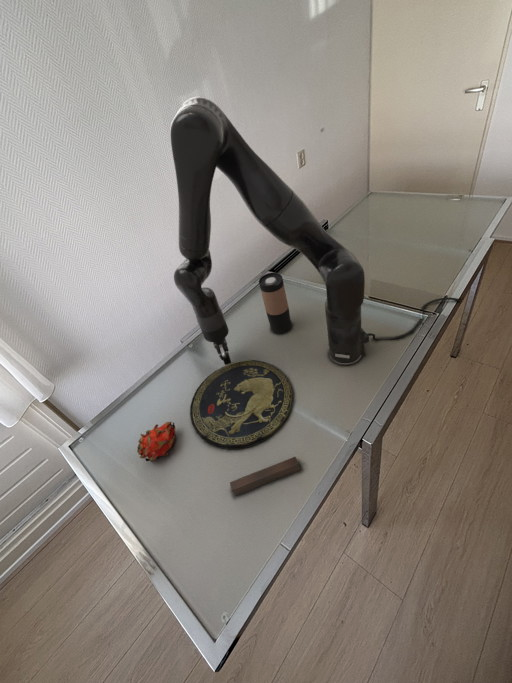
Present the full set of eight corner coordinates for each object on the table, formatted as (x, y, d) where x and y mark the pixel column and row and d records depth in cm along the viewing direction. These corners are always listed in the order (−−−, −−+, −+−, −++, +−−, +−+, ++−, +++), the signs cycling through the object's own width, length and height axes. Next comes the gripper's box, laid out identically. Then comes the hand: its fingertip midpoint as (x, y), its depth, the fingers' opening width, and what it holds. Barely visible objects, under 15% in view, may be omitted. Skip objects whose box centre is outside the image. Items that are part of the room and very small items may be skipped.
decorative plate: (174, 443, 84) (205, 360, 105) (177, 447, 86) (207, 363, 107) (286, 449, 76) (296, 357, 97) (287, 453, 78) (296, 361, 99)
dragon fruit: (145, 469, 85) (179, 437, 92) (154, 471, 78) (191, 437, 85) (125, 444, 84) (162, 414, 91) (133, 444, 77) (171, 412, 84)
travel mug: (271, 321, 116) (259, 273, 102) (292, 319, 114) (283, 270, 100) (269, 335, 110) (256, 287, 97) (291, 333, 108) (281, 284, 95)
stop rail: (297, 462, 75) (295, 456, 73) (300, 470, 74) (298, 464, 72) (233, 487, 74) (229, 482, 72) (235, 495, 73) (231, 490, 71)
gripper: (229, 331, 87) (243, 373, 98) (220, 305, 96) (234, 345, 108) (202, 340, 86) (220, 381, 98) (196, 313, 96) (213, 353, 108)
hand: (227, 362), depth 103 cm, fingers closed
